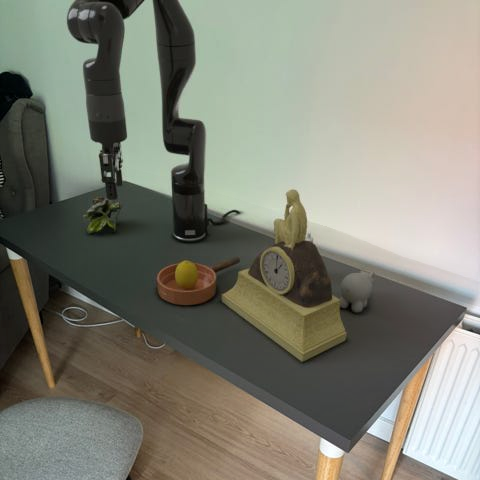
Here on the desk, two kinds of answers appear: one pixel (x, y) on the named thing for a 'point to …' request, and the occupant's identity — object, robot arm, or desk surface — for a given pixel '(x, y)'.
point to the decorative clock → (290, 290)
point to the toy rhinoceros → (356, 290)
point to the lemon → (186, 275)
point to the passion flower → (101, 214)
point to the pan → (181, 296)
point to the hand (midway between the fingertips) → (115, 192)
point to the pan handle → (225, 264)
